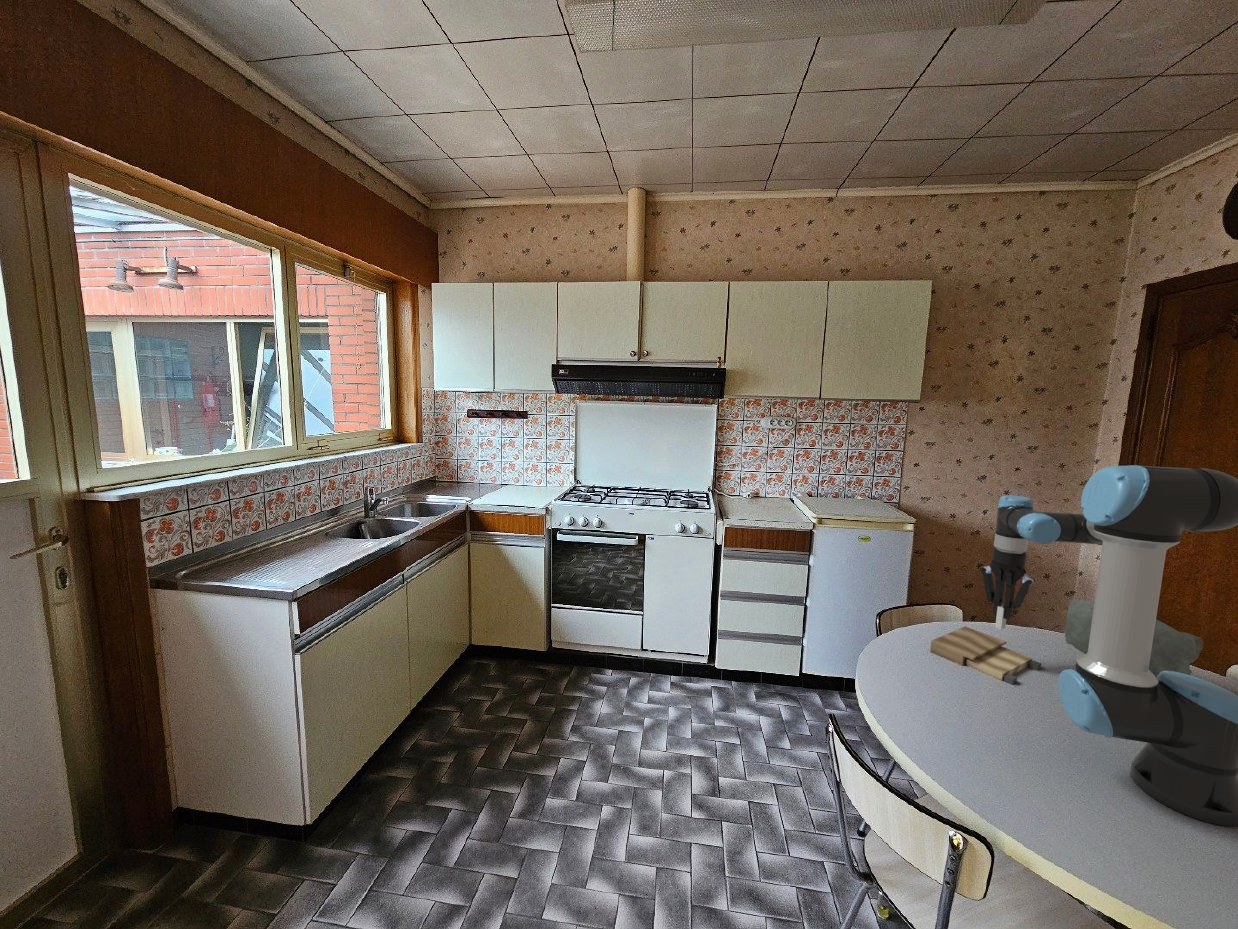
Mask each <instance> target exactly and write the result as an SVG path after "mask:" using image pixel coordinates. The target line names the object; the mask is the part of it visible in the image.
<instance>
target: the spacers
mask: <svg viewBox="0 0 1238 929" xmlns="http://www.w3.org/2000/svg"><path fill="white" fill-rule="evenodd" d="M1028 668H1030V669H1032V670H1035V671H1038V670H1040V669H1041V668H1042V663H1041V662H1040V661H1036V660H1032V661H1031V662H1029V666H1028ZM1005 681H1006V682H1005ZM1003 682H1005V683H1008V684H1010V685H1014V684H1016V683H1017V682H1018V677H1017V676H1015V675H1014V674H1013V675H1010V674H1007V675H1006V676H1004V680H1003Z"/></svg>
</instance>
